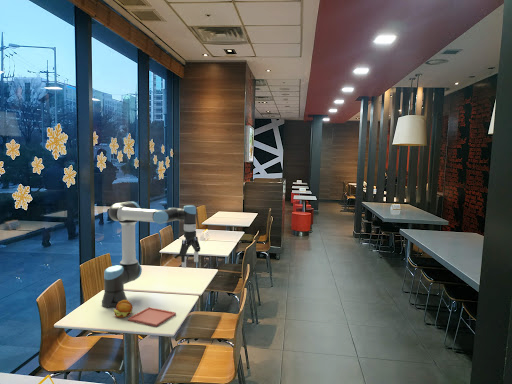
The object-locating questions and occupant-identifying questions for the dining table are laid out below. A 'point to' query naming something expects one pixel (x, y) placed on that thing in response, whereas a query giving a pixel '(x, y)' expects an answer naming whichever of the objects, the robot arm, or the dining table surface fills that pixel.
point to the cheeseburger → (123, 309)
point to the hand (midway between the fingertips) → (190, 264)
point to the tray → (152, 316)
